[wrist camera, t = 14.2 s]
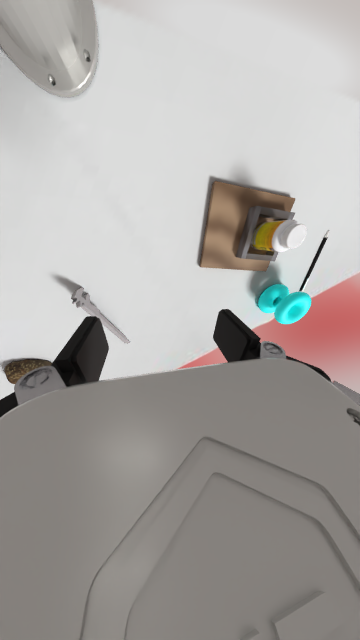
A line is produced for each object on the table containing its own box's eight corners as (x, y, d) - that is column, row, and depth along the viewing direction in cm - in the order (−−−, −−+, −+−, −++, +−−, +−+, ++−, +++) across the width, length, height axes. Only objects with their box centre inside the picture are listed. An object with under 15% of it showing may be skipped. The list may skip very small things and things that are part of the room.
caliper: (78, 288, 33) (65, 298, 28) (82, 286, 33) (70, 295, 28) (127, 342, 44) (124, 357, 39) (130, 341, 44) (128, 355, 39)
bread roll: (57, 359, 42) (47, 372, 38) (61, 383, 48) (53, 397, 44) (1, 356, 38) (-17, 370, 34) (13, 383, 44) (-1, 398, 39)
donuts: (282, 302, 35) (318, 288, 35) (256, 289, 43) (285, 278, 43) (278, 330, 40) (309, 319, 40) (255, 314, 49) (281, 304, 49)
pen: (296, 294, 48) (299, 295, 47) (325, 230, 38) (330, 230, 37) (298, 294, 48) (301, 295, 47) (328, 230, 38) (333, 230, 37)
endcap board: (212, 182, 27) (220, 176, 24) (290, 199, 32) (306, 195, 29) (199, 266, 36) (204, 269, 32) (263, 270, 40) (272, 273, 37)
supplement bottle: (246, 249, 34) (278, 254, 26) (251, 223, 32) (290, 218, 23) (265, 248, 35) (302, 252, 27) (272, 222, 32) (317, 217, 24)
